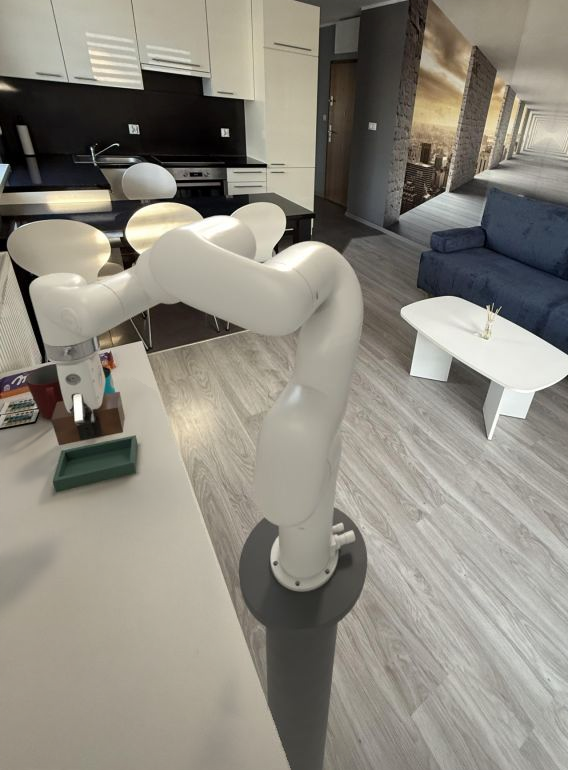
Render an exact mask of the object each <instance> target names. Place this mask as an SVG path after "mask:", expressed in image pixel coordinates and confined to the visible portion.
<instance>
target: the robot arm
mask: <svg viewBox="0 0 568 770" xmlns="http://www.w3.org/2000/svg"><path fill="white" fill-rule="evenodd" d="M256 254H257V241H256V238H255V234H254V232H253V231H252V230H251V228H250V227H249V226H248V224H246V223H245V222H244V221H242V220H241V219H238V218H236V217H234V216H230V215H213V216H210V217H209V216H208V217H206V218H202V219H199V220H196V221H192V222H190V223H187V224H184V225H180V226H178V227H174V228H172V229H169V230H168V231H165V233H163V234H162V235H160V236H159V237H158V239H156V240H155V242H154V243H153V245H152V246H151V247H149V248H147V249H145V250H143V252H141V253H140V255H139V256H138V258H137V259H136V261H135V265H133V266H131V267H130V268H127V269H125V270H123V271H120V272H118V273H116V274H112V275H110V276H108V277H107V276H106V277H105V278H103V279H99V280H97V281H95V282H92V283H90V284H88V282H87V281H86V279H85V278H84V277H83V276H82V275H79V274H78V273H73V272H55V273H54V272H53V273H48V274H45V275H44V274H43V275H42V276H39V277H37V278H34V280H32V281H31V283H30V284H29V287H28V288H29V289H28V290H29V291H28V292H29V296H30V300H31V303H32V307H33V311H34V315H35V318H36V321H37V325H38V328H39V332H40V335H41V339H42V343H43V347H44V350H45V353H46V357H47V360H48V361H49V362H50V363H52V364H56V367H57V373H58V374H57V375H58V378H59V383H60V388H61V392H62V396H63V400H64V404H65V407H66V409H67V411H68V412H69V413H73V411H74V418H75V424H76V426H77V429H78V433H79V437H80V440H84V441H88V439H89V440H94V439H98V438H101V437H100V436H101V430H100V426H99V422H98V418H95V412H94V409H98V408H99V407H100V406H101V404H102V400H103V394H104V389H105V375H104V372H103V368H102V367H103V364H102V361H101V357H100V354H99V352H100V351H101V343H100V338H99V336H100V335H103V334H105V333H106V332H108V331H109V330H112V329H114V328H116V327H117V326H119V325H121V324H123V323H125V322H126V321H128V320H130V319H132V318H133V317H135V316H138V315H140V314H141V313H143V312H146V311H147V310H150V309H152V308H153V307H155V306H157V305H159V304H165V305H174V304H177V303H180V302H181V303H183V304H185V305H187V306H189V307H192V308H194V309H196V310H199V311H201V312H203V313H206V314H208V315H210V316H213V317H215V318H218V319H221V320H223V321H225V322H228V323H229V324H230V323H231V324H233V325H235V326H238V327H240V328H243V329H244V330H247V331H250V332H252V333H255V334H259V335H262V336H267V337H283V336H286V335H290V334H292V333H294V332H295V331H297V330H299V329H300V331H299V334H298V338H297V341H296V342H297V343H296V350H295V359H294V362H293V363H294V364H293V369H292V374H291V376H290V378H289V380H288V382H287V384H286V385H285V387H284V388H283V390H282V391H281V392H280V394H279V396H278V397H277V398H276V400H275V401H274V402H273V403H272V405H271V407H270V408H269V409H268V411H267V412H266V414H265V416H264V417H263V419H262V422H261V425H260V428H259V430H258V434H257V439H256V445H255V447H256V448H255V455H254V466H253V475H252V496H253V500H254V504H255V506H256V508H257V510H258V511H259V512H260V514H261V515H262V516H263V518H264V517H265V518H266V519H267V520H268V521H270V522H271V523H273V524H275V525H277V526H279V536H278V537H277V538H276V540H275V542H274V544H273V546H272V550H271V556H270V563H271V569H272V572H273V574H274V576H275V578H276V579H277V581H278V582H279V583H280V584H282V585H283V586H284V587H286V588H288V589H290V590H293V591H299V592H304V591H310V590H314V589H316V588H318V587H320V586H322V585H323V584H324V583H326V582H327V581H328V580H329V578H330V577H331V576H332V574H333V573H334V571H335V569H336V566H337V562H338V549H340V546H342V545H344V544H348V543H351V542H354V541H355V535H354V532H353V530H351V531H348V532H345V533H343V534H341V535H339V536H338V535H337V534H335V535H333V534H334V533H336V532H340V531H343V530H344V526H343V523H339V524H336V525H335V526H332V525H333V512H334V507H335V499H336V491H337V488H336V487H337V480H338V475H339V469H340V464H341V458H342V451H343V439H342V434H341V432H340V429H341V427H342V424H343V422H344V418H345V416H346V413H347V409H348V404H349V399H350V398H349V397H350V393H351V392H350V391H351V388H352V387H351V386H352V381H353V376H354V373H355V368H356V362H357V356H358V351H359V346H360V342H361V336H362V330H363V324H364V323H363V322H364V298H363V292H362V287H361V284H360V281H359V278H358V276H357V274H356V272H355V269H353V267H352V265H351V264H350V263H349V261H348V260H347V259H346V258H345V257H344V256H343V254H341V253H340V252H339V251H338V250H337V249H335V248H333V247H332V246H330V245H328V244H326V243H324V242H321V241H315V240H314V241H313V240H307V241H302V242H298V243H294V244H293V245H290V246H288V247H286V248H285V249H284V250H281V251H280V252H278V253H277V254H275V255H274V256H272V257H270V258H268V259H267V260H266V261H264V262H259V261H255V257H256ZM84 404H86V406H84ZM87 410H89V412H90V416H89V415H85V413H84V411H87ZM97 437H98V438H97ZM93 438H94V439H93ZM275 565H276V566H275ZM327 573H328V574H327ZM297 585H299V586H297Z"/></svg>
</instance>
